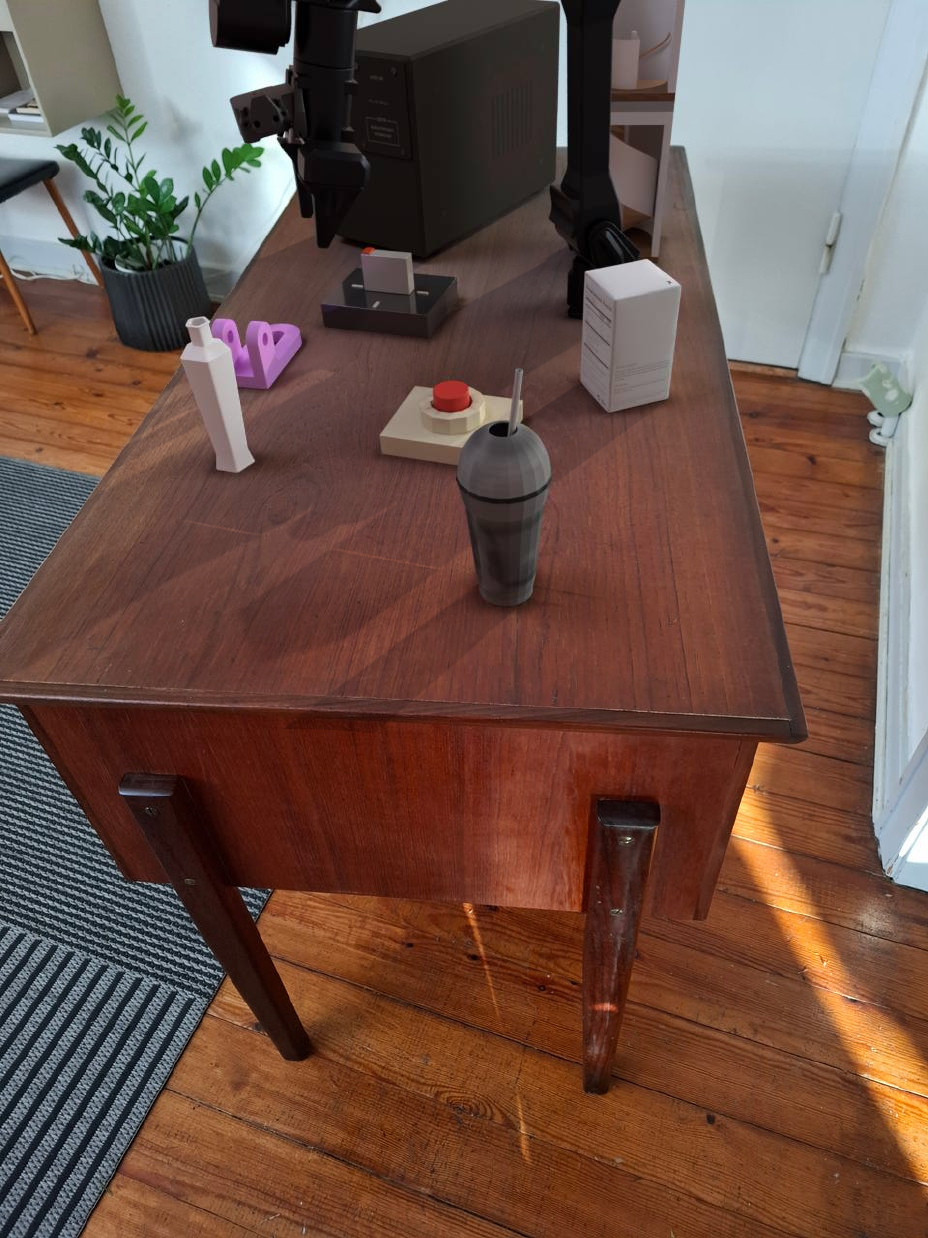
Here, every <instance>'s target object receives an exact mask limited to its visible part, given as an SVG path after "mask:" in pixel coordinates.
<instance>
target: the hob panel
mask: <svg viewBox="0 0 928 1238" xmlns="http://www.w3.org/2000/svg"><path fill="white" fill-rule="evenodd" d="M413 279H414V290H413V291H412V292H411V293H410V294H409V295H407V294H397V293H387V292H378V291H368V290H365V286H364V278H363V270H362V267H355V268H354V269H353V270H352V271H351V272H350V273H349V274H348V275H346V277H345V278H344V279H343V280H342V281H341V282H340V283H339V284H338V285H337V286H336V287H335V288H334V289H333V290H332V291H331V292H330V293H329V294H328V295H327V296H326V297H325V299H323V300H322V302H320V310H321V316H322V322H323V326H324V327H325V328H326V327H327V328H335V329H342V330H349V331H360V332H368V333H378V334H386V335H387V334H388V335H395V336H403V337H412V338H420V339H430V337H431V336H432V335H433V334H434V332H435V331H436V330H437V328H438V327H439V326H440V325H441V323H442V321H443V320H444V319H445V318H446V317H447V315H448V314H449V312H451V310H452V309H453V308H454V306H455V304H456V303H457V302H458V300H459V291H458V290H459V289H458V277H457V276H450V275H438V274H429V273H417V272H413Z"/></svg>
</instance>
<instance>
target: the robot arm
mask: <svg viewBox="0 0 928 1238" xmlns="http://www.w3.org/2000/svg"><path fill="white" fill-rule="evenodd" d="M292 1H293V2H294V25H293V21H292V20H293V13H292V12H293V11H292V5H293V4H292ZM559 1H560V5H561V8H562V10H563V14H564V16H565V21H566V145H567V146H566V152H567V153H566V156H567V157H566V170H565V172H564V175H563V177H562V179H561V182H560V184H550V185H549V189H548V190H549V191H548V193H549V198H550V204H551V205H550V212H549V214H548V215H549V216H548V220H549V221H550V222H551V223H552V224H553V225H554V229H555V232H556V233H557V234H558V236H559V237H561V238H562V239H563V240H564V241H566V244H567V248H568V250H569V251H571V252H573V253H574V254H575V256H574V258H573V260H572V266H571V267H570V269H569V270H568V272H567V283H566V284H567V285H566V305H567V306H569V307H568V309H567V312H566V315H567V316H568V317H572V318H582V319H583V304H584V280H585V271H590V270H596V269H601V268H606V267H611V266H616V265H621V264H625V263H630V262H635V261H637V259H638V256H639V254H640V250H639V249H638V248H637V247H636V246H635V245H634V244H633V243H632V242H631V241H630V240H629V239H628V238H627V237H626V236H625V235H624V234H623V233H622V220H621V212H620V204H619V199H618V196H617V193H616V190H615V187H614V183H613V180H612V177H611V174H610V168H609V162H610V125H611V89H612V52H613V23H614V17H615V14H616V12H617V9H618V7H619V5H620V2H621V0H559ZM359 12H364V13H369V14H375V15H376V14H380V13H381V12H382V5H381V4H380V3H379V1H378V0H208V21H209V22H208V25H209V33H210V34H209V35H210V39H211V45H212V47H213V48H217V49H224V50H231V51H240V52H247V53H255V54H262V55H268V56H269V55H270V56H277V55H278V53H279V50H280V48H286V45H288V44H289V43H290V40H291V36H292V25H293V26H294V27H293V50H292V51H293V52H292V53H293V54H292V55H293V56H292V64H288V68H285V75H284V77H285V78H284V82H283V83H279V84H275V85H268V86H265V87H261V88H258V89H254V90H251V91H247V92H244V93H240V94H237V95H234V96H232V97H230V98H229V103H230V107H231V110H232V113H233V115H234V118H235V122H236V125H237V128H238V131H239V134H240V136H241V138H242V141H243V143H244V144H246V145H248V144H250V145H251V144H256V143H259V142H261V141H262V139H265V138H268V137H272V136H275V135H276V141H277V142H278V145H279V146H280V148H281V149H282V150H283V152H285V154H286V155H287V156H288V157H289V159H290V160H291V165H292V171H293V175H294V182H295V189H296V194H297V199H298V200H297V201H298V206H299V212H300V216H301V218H303V219H312V218H313V220H314V231H315V239H316V246H317V248H318V249H325V250H326V249H329V248H330V246H331V244H332V242H333V240H334V238H335V236H337V235H336V233H337V231H338V229H339V227H340V226H341V224H342V222H343V220H344V218H345V217H346V215H347V213H348V211H349V210H350V208H351V206H352V205H353V203H354V202H355V200H356V198H357V197H358V195H359V193H362V192H363V190H364V187H368V186H369V176H370V164H369V163H368V161H367V160H366V159H365V157H364V156H363V155H362V153H361V152H360V151H359V150H358V148H357V147H356V146H355V145H354V144H349V143H340V141H342V142H352V143H353V142H354V130H353V129H352V128H351V127H350V115H351V102H352V95H357V91H358V83H357V82H356V81H355V80H354V79H353V76H354V62H355V49H356V36H357V29H358V21H359Z"/></svg>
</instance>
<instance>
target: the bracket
mask: <svg viewBox="0 0 928 1238" xmlns="http://www.w3.org/2000/svg"><path fill="white" fill-rule="evenodd" d="M210 331H211V334H212V338H218V339H220V340H221V341H223V342H224V343H225V344H226V345H227V346H228V347H229V348H230V349H231V353H232V359H233V365H234V371H235V377H236V383H237V388H245V389H247V388H248V389H258V390H259V389H260V390H269V389H270V387H271V386H272V385H273V383H274V382H275V381H276V380H277V378H278V376H280V374H281V373H282V372H283V371H284V369H285V368H286V366H287V365H288V364H289V363H290V361H291V360H292V358H293V357H294V356H295V354H296V353H297V351H299V349H300V348H301V347H302V344H303V342H302V341H303V340H302V336H301V331H300V328H299V327H298V326H296V325H294V324H291V323H273V324H269V323H268V322H267V321H259V320H251V321H250V322H249V323H248V325H247V328H246V332H245V344H244V345H243V347H242V344H241V340H240V335H239V331H238V327H237V324H236V322H235V321H234V320H233V319H230V318H216V319H214V321H213V323H212V325H211V328H210ZM275 343H276V344H275Z"/></svg>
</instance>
